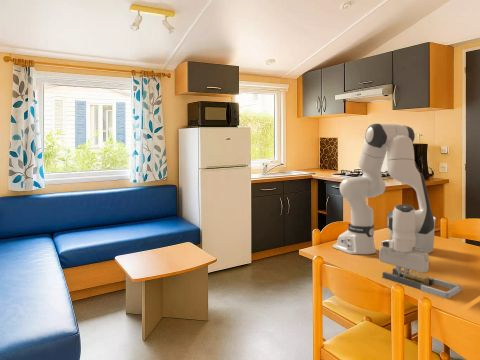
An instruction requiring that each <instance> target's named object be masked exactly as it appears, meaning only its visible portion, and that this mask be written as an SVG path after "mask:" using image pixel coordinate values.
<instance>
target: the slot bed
mask: <svg viewBox="0 0 480 360" xmlns="http://www.w3.org/2000/svg"><path fill="white" fill-rule="evenodd" d="M401 271H402V272H403V273H404V272H405V271H404V269H401ZM381 278H382V279H384V280H388V281H391V282H394V283H398V284H401V285H405V286H408V287H410V288H413V289H417V290H419V291H421V285H424V283H420V282H417V281H414V280H410V279H407V278H404V277H400V276H398V272H397V270H396V267H394V268H392V273H391V272H387V271H383V272H382V277H381ZM434 279H435V278H432V277H429V285H428V287H431V286H433V285H435V284H434Z"/></svg>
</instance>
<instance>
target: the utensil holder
mask: <svg viewBox="0 0 480 360" xmlns="http://www.w3.org/2000/svg"><path fill="white" fill-rule="evenodd" d="M433 218H434V222H435V223H436V219H437V218H436V217H435V216H433ZM435 226H436V224H435V225H434V229H433V230H432V231H431V232H429V233H428V234H419V233H415V248H419V249H424V250H425V251H426V252H427V253H428V254H431V253H432V252H433V251H434V244H435V242H434V241H435V229H436V228H435ZM426 252H425V253H426Z"/></svg>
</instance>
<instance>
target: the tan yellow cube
mask: <svg viewBox="0 0 480 360" xmlns="http://www.w3.org/2000/svg"><path fill="white" fill-rule="evenodd" d="M418 274H419V272H416V271H412V270H410V271H409V272H407V273H405V278H407V279H410V280H414V276H416V275H418Z"/></svg>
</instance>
